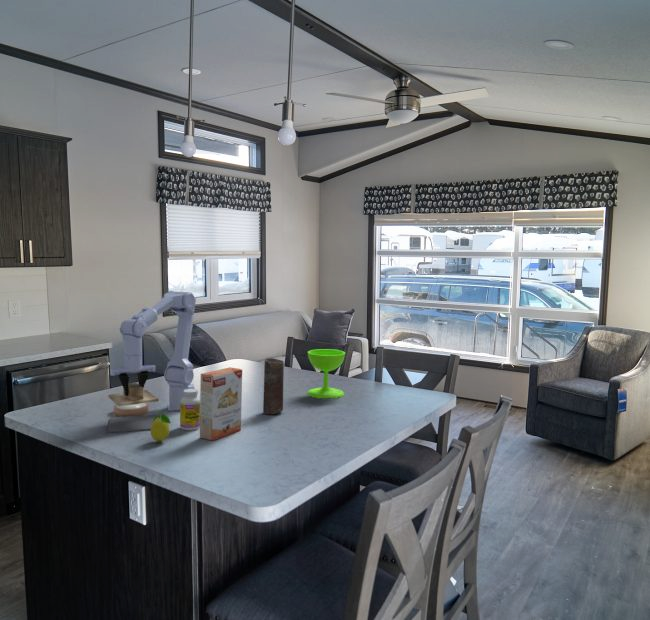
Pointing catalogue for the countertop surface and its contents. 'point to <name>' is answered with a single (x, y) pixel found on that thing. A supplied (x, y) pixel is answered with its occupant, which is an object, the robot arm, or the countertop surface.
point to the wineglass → (326, 370)
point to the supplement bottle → (190, 410)
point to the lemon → (160, 427)
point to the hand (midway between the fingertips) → (133, 394)
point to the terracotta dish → (131, 410)
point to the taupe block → (133, 396)
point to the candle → (273, 386)
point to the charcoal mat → (130, 423)
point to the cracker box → (220, 403)
